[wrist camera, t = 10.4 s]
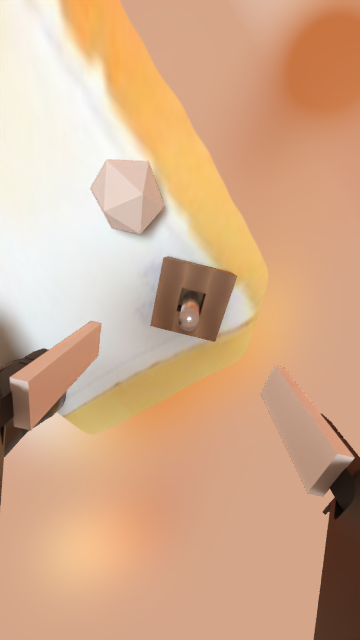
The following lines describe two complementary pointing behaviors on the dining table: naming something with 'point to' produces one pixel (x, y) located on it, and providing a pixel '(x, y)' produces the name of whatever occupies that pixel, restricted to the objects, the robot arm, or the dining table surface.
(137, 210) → the die
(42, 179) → the dining table surface
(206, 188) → the dining table surface
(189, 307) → the pin
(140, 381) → the dining table surface
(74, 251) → the dining table surface
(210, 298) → the socket block
